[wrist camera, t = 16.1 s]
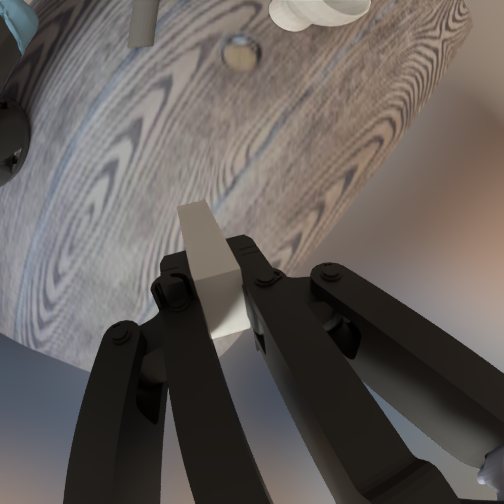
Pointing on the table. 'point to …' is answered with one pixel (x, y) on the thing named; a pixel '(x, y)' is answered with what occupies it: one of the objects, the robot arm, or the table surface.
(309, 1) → the cup
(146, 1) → the gray half cylinder
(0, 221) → the table surface
